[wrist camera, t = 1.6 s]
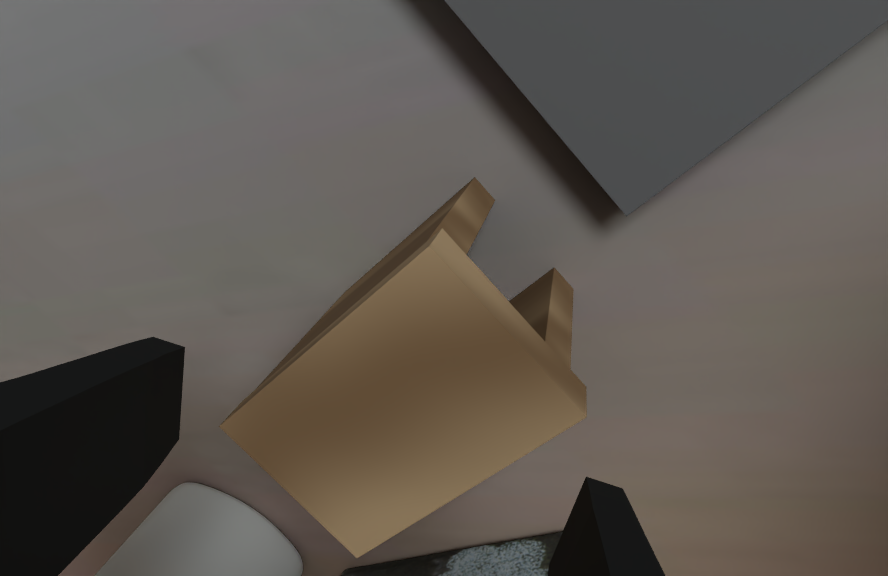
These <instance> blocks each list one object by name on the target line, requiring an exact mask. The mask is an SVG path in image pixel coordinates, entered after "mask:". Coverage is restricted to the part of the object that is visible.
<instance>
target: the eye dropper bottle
mask: <svg viewBox="0 0 888 576" xmlns="http://www.w3.org/2000/svg"><path fill="white" fill-rule="evenodd" d="M302 572H303V562H302V559H301V556H300V554H299V553H298V551H297V550H296V548H295V547H294V546H293V545H292V543H291V542H290V541H289V540H288V539H287V538H286V537H285V536H284V535H283V533H282V532H281V531H280V530H279V529H278V528H277V527H275V526H274V525H273V524H272V523H271V522H270V521H269V520H268V519H266V518H265V517H264V516H263V515H261V514H260V513H259V512H257V511H256V510H254V509H253V508H251V507H250V506H248V505H247V504H245V503H243V502H242V501H240V500H238V499H236V498H234V497H232V496H230V495H228V494H226V493H224V492H221V491H219V490H216V489H214V488H211V487H208V486H205V485H202V484H199V483H193V482H186V483H182V484H180V485H178V486H177V487H175V488H174V489H172V490H171V491H170V492H169V493H168V494H167V495H166V497H165V498H164V499H163V500H162V501H161V502H160V503H159V504H158V505H157V506H156V508H155V509H154V510H153V511H152V512H151V513H150V514H149V515H148V516H147V518H146V519H145V520H144V521H143V522H142V523H141V524H140V525H139V526H138V528H137V529H136V530H135V531H134V532H133V533H132V534H131V535H130V537H129V538H128V539H127V540H126V541H125V542H124V543H123V544H122V545H121V547H120V548H119V549H118V550H117V551H116V552H115V553H114V554H113V555H112V557H111V558H110V559H109V560H108V561H107V562H106V563H105V564H104V565H103V567H102V568H101V569H100V570H99V571H98V572H97V573H96V574H95V576H301V575H302Z"/></svg>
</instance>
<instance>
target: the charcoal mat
mask: <svg viewBox="0 0 888 576" xmlns="http://www.w3.org/2000/svg"><path fill="white" fill-rule="evenodd" d="M445 2H446V3H447V4H448V5H449V6H450V8H451V9H452V10H453V11H454V12H455V13H456V15H457V16H458V17H459V18H460V19H461V21H462V22H463V23H464V24H465V25H466V27H467V28H468V29H469V30H470V31H471V32H472V34H473V35H474V36H475V37H476V38H477V40H478V41H479V42H480V43H481V44H482V45H483V47H484V48H485V49H486V50H487V51H488V53H489V54H490V55H491V56H492V57H493V59H494V60H495V61H496V62H497V63H498V64H499V66H500V67H501V68H502V69H503V70H504V72H505V73H506V74H507V75H508V76H509V77H510V79H511V80H512V81H513V82H514V83H515V85H516V86H517V87H518V88H519V89H520V91H521V92H522V93H523V94H524V95H525V96H526V98H527V99H528V100H529V101H530V102H531V104H532V105H533V106H534V107H535V108H536V110H537V111H538V112H539V113H540V114H541V115H542V117H543V118H544V119H545V120H546V121H547V123H548V124H549V125H550V126H551V127H552V128H553V130H554V131H555V132H556V133H557V134H558V136H559V137H560V138H561V139H562V140H563V142H564V143H565V144H566V145H567V146H568V147H569V149H570V150H571V151H572V152H573V153H574V155H575V156H576V157H577V158H578V159H579V161H580V162H581V163H582V164H583V165H584V166H585V168H586V169H587V170H588V171H589V172H590V174H591V175H592V176H593V177H594V178H595V179H596V181H597V182H598V183H599V184H600V185H601V187H602V188H603V189H604V190H605V191H606V193H607V194H608V195H609V196H610V197H611V198H612V200H613V201H614V202H615V203H616V204H617V206H618V207H619V208H620V209H621V210H622V212H623V213H624V214H625V215H626V216H628V215H629V214H630V213H632V212H633V211H634V210H636V209H637V208H638V207H640V206H641V205H642V204H644V203H645V202H646V201H648V200H649V199H650V198H652V197H653V196H654V195H656V194H657V193H658V192H660V191H661V190H662V189H664V188H665V187H666V186H668V185H669V184H670V183H672V182H673V181H674V180H675V179H677V178H678V177H679V176H681V175H682V174H683V173H685V172H686V171H687V170H689V169H690V168H691V167H693V166H694V165H695V164H697V163H698V162H699V161H701V160H702V159H703V158H705V157H706V156H707V155H709V154H710V153H711V152H713V151H714V150H715V149H717V148H718V147H719V146H721V145H722V144H723V143H725V142H726V141H727V140H729V139H730V138H731V137H733V136H734V135H735V134H737V133H738V132H739V131H741V130H742V129H743V128H745V127H746V126H747V125H749V124H750V123H751V122H753V121H754V120H755V119H757V118H758V117H759V116H761V115H762V114H763V113H765V112H766V111H767V110H769V109H770V108H771V107H773V106H774V105H775V104H777V103H778V102H779V101H781V100H782V99H783V98H785V97H786V96H787V95H789V94H790V93H791V92H793V91H794V90H795V89H797V88H798V87H799V86H801V85H802V84H803V83H805V82H806V81H807V80H809V79H810V78H811V77H813V76H814V75H815V74H817V73H818V72H819V71H821V70H822V69H823V68H825V67H826V66H827V65H829V64H830V63H831V62H833V61H834V60H835V59H837V58H838V57H839V56H841V55H842V54H843V53H845V52H846V51H847V50H849V49H850V48H851V47H853V46H854V45H855V44H857V43H858V42H859V41H861V40H862V39H863V38H865V37H866V36H867V35H869V34H870V33H871V32H873V31H874V30H875V29H877V28H878V27H879V26H881V25H882V24H883V23H885V22H886V21H887V20H888V0H445Z"/></svg>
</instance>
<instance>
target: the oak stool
mask: <svg viewBox="0 0 888 576" xmlns="http://www.w3.org/2000/svg"><path fill="white" fill-rule="evenodd" d="M494 201H495V200H494V199H493V197H492V196H491V195H490V194H489V193H488V192H487V191H486V189H485V188H484V187H483V186H482V185H481V184H480V183H479V181H478V180H477V179H476V178H473V179H472V180H471V181H470V182H469V183H468V184H467V185H466V186H464V187H463V188H462V189H461V190H460V191H459V192H458V193H456V194H455V195H454V196H453V197H452V198H451V199H450V200H449V201H447V202H446V203H445V204H444V205H443V206H442V207H441V208H440V209H438V210H437V211H436V212H435V213H434V214H433V215H432V216H430V217H429V218H428V219H427V220H426V221H425V222H424V223H423V224H421V225H420V226H419V227H418V228H417V229H416V230H415V231H414V232H412V233H411V234H410V235H409V236H408V237H407V238H406V239H404V240H403V241H402V242H401V243H400V244H399V245H398V246H397V247H395V248H394V249H393V250H392V251H391V252H390V253H389V254H388V255H386V256H385V257H384V258H383V259H382V260H381V261H380V262H378V263H377V264H376V265H375V266H374V267H373V268H372V269H371V270H369V271H368V272H367V273H366V274H365V275H364V276H363V277H362V278H360V279H359V280H358V281H357V282H356V283H355V284H354V285H352V286H351V287H350V288H349V289H348V290H347V291H346V292H345V293H344V294H343V295H342V296H341V297H340V298H339V299H338V300H337V301H336V302H335V303H334V305H333V306H332V307H331V308H330V309H329V310H328V311H327V312H326V313H325V314H324V315H323V317H322V318H321V319H320V320H319V321H318V322H317V323H316V324H315V325H314V326H313V327H312V329H311V330H310V331H309V332H308V333H307V334H306V335H305V336H304V337H303V338H302V339H301V340H300V342H299V343H298V344H297V345H296V346H295V347H294V348H293V349H292V350H291V351H290V352H289V354H288V355H287V356H286V357H285V358H284V359H283V360H282V361H281V362H280V363H279V364H278V366H277V367H276V368H275V369H274V370H273V371H272V372H271V373H270V374H269V375H268V376H267V377H266V379H265V380H264V381H263V382H262V383H261V384H260V385H259V386H258V387H257V388H256V389H255V390H254V391H253V392H252V393H251V394H250V395H249V396H248V397H246V398H245V399H244V400H243V401H242V402H241V403H240V404H239V405H238V407H237V408H236V409H235V410H234V411H233V412H232V413H231V414H230V415H229V416H228V417H227V418H226V420H225V421H224V422H223V423H222V424H221V425H220V426H219V427H220V428H221V429H222V430H223V431H224V432H225V433H226V434H227V435H228V436H230V437H231V438H232V439H233V440H234V441H235V442H236V443H237V444H238V445H239V446H240V447H241V448H242V449H243V450H244V451H245V452H246V453H247V454H248V455H249V456H250V457H251V458H253V459H254V460H255V461H256V462H257V463H258V464H259V465H260V466H261V467H262V468H263V469H264V470H265V471H266V472H267V473H268V474H269V475H270V476H271V477H272V478H273V479H274V480H276V481H277V482H278V483H279V484H280V485H281V486H282V487H283V488H284V489H285V490H286V491H287V492H288V493H289V494H290V495H291V496H292V497H293V498H294V499H295V500H296V501H297V502H298V503H300V504H301V505H302V506H303V507H304V508H305V509H306V510H307V511H308V512H309V513H310V514H311V515H312V516H313V517H314V518H315V519H316V520H317V521H318V522H319V523H320V524H321V525H323V526H324V527H325V528H326V529H327V530H328V531H329V532H330V533H331V534H332V535H333V536H334V537H335V538H336V539H337V540H338V541H339V542H340V543H341V544H342V545H343V546H344V547H346V548H347V549H348V550H349V551H350V552H351V553H352V554H353V555H354V556H355V557H356V558H358V557H360V556H362V555H363V554H365V553H367V552H368V551H370V550H371V549H373V548H375V547H376V546H378V545H380V544H381V543H383V542H384V541H386V540H388V539H389V538H391V537H393V536H394V535H396V534H398V533H399V532H401V531H402V530H404V529H406V528H407V527H409V526H411V525H412V524H414V523H415V522H417V521H419V520H420V519H422V518H424V517H425V516H427V515H428V514H430V513H432V512H433V511H435V510H437V509H438V508H440V507H441V506H443V505H445V504H446V503H448V502H450V501H451V500H453V499H454V498H456V497H458V496H459V495H461V494H463V493H464V492H466V491H467V490H469V489H471V488H472V487H474V486H476V485H477V484H479V483H480V482H482V481H484V480H485V479H487V478H489V477H490V476H492V475H493V474H495V473H497V472H498V471H500V470H502V469H503V468H505V467H507V466H508V465H510V464H511V463H513V462H515V461H516V460H518V459H520V458H521V457H523V456H524V455H526V454H528V453H529V452H531V451H533V450H534V449H536V448H537V447H539V446H541V445H542V444H544V443H546V442H547V441H549V440H550V439H552V438H554V437H555V436H557V435H559V434H560V433H562V432H563V431H565V430H567V429H568V428H570V427H572V426H573V425H575V424H576V423H578V422H580V421H581V420H583V419H585V418H586V417H587V408H586V386H585V385H584V384H583V383H582V382H581V381H580V380H579V379H578V377H577V376H576V375H575V374H574V373H573V372H572V371H571V370H570V365H571V339H572V312H573V288H572V287H571V286H570V285H569V284H568V283H567V281H566V280H565V279H564V278H563V277H562V276H561V275H560V273H559V272H558V271H557V270H556V269H555V268H553V269H551V270H550V271H549V272H547V273H546V274H545V275H544V276H542V277H541V278H540V279H538V280H537V281H536V282H534V283H533V284H532V285H530V286H529V287H528V288H526V289H525V290H524V291H522V292H521V293H520V294H518V295H517V296H516V297H514V298H513V299H512V300H510V301H508V300H507V299H506V298H505V297H504V296H503V295H502V294H501V292H500V291H499V290H498V289H497V288H496V287H495V286H494V285H493V284H492V283H491V281H490V280H489V279H488V278H487V277H486V276H485V275H484V274H483V273H482V271H481V270H480V269H479V268H478V267H477V266H476V265H475V264H474V263H473V262H472V260H471V259H470V258H469V257H468V256H467V253H468V251H469V249H470V247H471V245H472V243H473V241H474V240H475V238H476V236H477V234H478V232H479V230H480V228H481V226H482V224H483V222H484V220H485V219H486V217H487V215H488V213H489V211H490V209H491V207H492V205H493V203H494Z"/></svg>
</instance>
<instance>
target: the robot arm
mask: <svg viewBox="0 0 888 576" xmlns="http://www.w3.org/2000/svg"><path fill="white" fill-rule="evenodd" d="M184 352H185V347H183V346H180V345H177V344H173V343H170V342H167V341H164V340H161V339H158V338H155V337H151V338H147V339H143V340H139V341H135V342H132V343H128V344H125V345H121V346H118V347H115V348H112V349H108V350H105V351H102V352H99V353H96V354H93V355H89V356H86V357H83V358H80V359H77V360H74V361H70V362H67V363H64V364H61V365H57V366H54V367H51V368H48V369H45V370H41V371H38V372H35V373H32V374H28V375H25V376H22V377H18V378H15V379H11V380H8V381H4V382H0V576H58V575H59V574H60V573H61V572H62V571H63V570H64V569H65V568H66V567H67V566H68V565H69V564H70V563H71V561H72V560H73V559H74V558H75V557H76V556H77V555H78V554H79V553H80V552H81V551H82V550H83V549H84V548H85V547H86V546H87V545H88V544H89V543H90V542H91V541H92V540H93V539H94V538H95V537H96V536H97V535H98V534H99V533H100V532H101V531H102V530H103V529H104V528H105V527H106V526H107V525H108V524H109V522H110V521H111V520H112V519H113V518H114V517H115V516H116V515H117V514H118V513H119V512H120V511H121V510H122V509H123V508H124V507H125V506H126V505H127V504H128V503H129V502H130V501H131V499H132V498H133V497H134V496H135V495H136V494H137V493H138V492H139V491H140V490H141V489H142V488H143V487H144V485H145V484H146V483H147V482H148V480H149V479H150V478H151V476H152V475H153V474H154V472H155V471H156V470H157V469H158V467H159V466H160V465H161V463H162V462H163V461H164V459H165V458H166V456H167V455H168V454H169V452H170V451H171V449H172V448H173V447H174V445H175V444H176V443H177V441H178V440H179V430H180V414H181V399H182V383H183V368H184ZM548 576H665V574H664V572H663V570H662V568H661V566H660V564H659V562H658V560H657V558H656V556H655V554H654V552H653V550H652V548H651V546H650V544H649V542H648V540H647V538H646V536H645V534H644V531H643V529H642V527H641V525H640V523H639V521H638V519H637V517H636V515H635V513H634V511H633V508H632V506H631V504H630V502H629V500H628V498H627V496H626V494H625V492H624V490H623V489H622V488H619V487H616V486H613V485H610V484H607V483H604V482H601V481H598V480H595V479H591V478H588V477H586V478H585V481H584V483H583V485H582V488H581V490H580V492H579V495H578V497H577V499H576V502H575V504H574V507H573V509H572V511H571V514H570V516H569V518H568V521H567V523H566V525H565V528H564V530H563V533H562V535H561V537H560V540H559V542H558V544H557V547H556V549H555V552H554V554H553V556H552V559H551V561H550V563H549V568H548Z"/></svg>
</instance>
